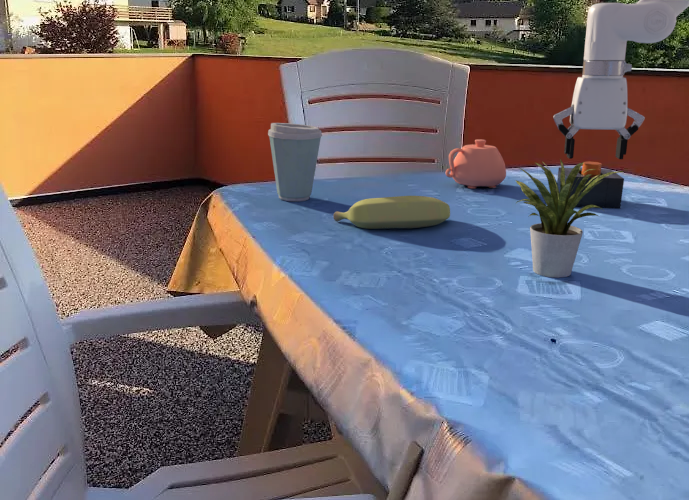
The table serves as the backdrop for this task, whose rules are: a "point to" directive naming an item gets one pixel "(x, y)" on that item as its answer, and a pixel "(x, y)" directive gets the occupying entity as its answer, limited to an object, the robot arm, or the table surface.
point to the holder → (598, 189)
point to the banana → (396, 212)
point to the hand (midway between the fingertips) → (594, 158)
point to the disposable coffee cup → (294, 159)
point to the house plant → (557, 221)
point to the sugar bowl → (477, 165)
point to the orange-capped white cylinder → (591, 166)
